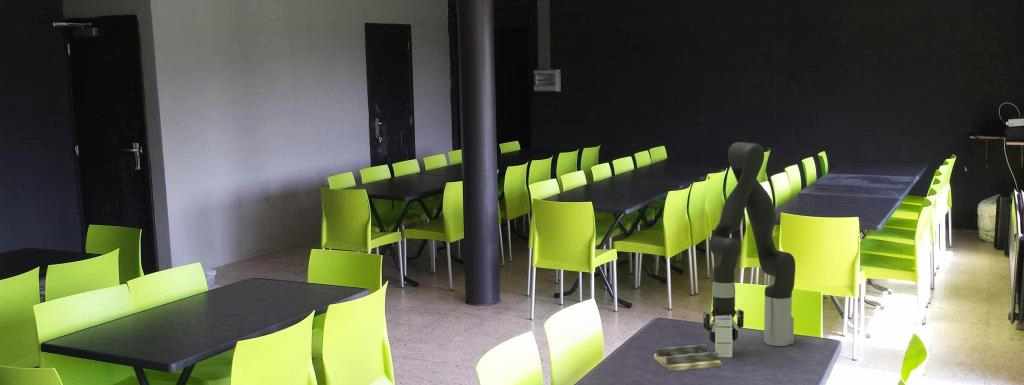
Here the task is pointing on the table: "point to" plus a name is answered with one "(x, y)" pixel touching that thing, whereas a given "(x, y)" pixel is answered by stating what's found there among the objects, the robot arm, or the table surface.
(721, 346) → the syrup box
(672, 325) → the table surface
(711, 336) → the robot arm
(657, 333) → the table surface
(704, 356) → the rail board
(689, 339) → the table surface
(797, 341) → the table surface
